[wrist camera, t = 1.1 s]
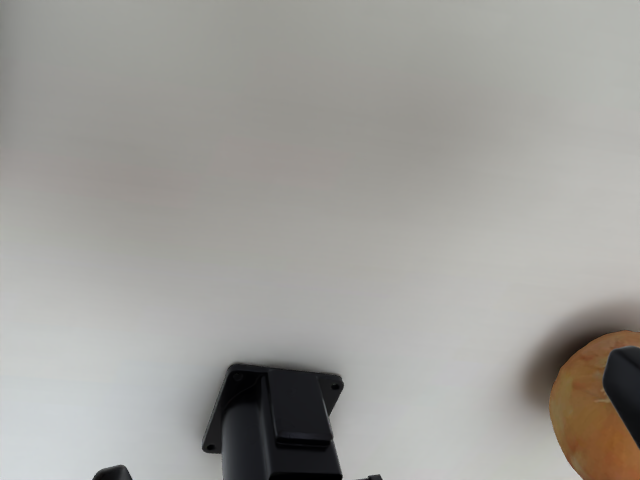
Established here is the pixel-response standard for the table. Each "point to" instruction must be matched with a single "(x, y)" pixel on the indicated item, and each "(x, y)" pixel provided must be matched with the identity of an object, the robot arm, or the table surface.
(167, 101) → the table surface
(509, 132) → the table surface
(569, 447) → the onion
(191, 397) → the table surface
